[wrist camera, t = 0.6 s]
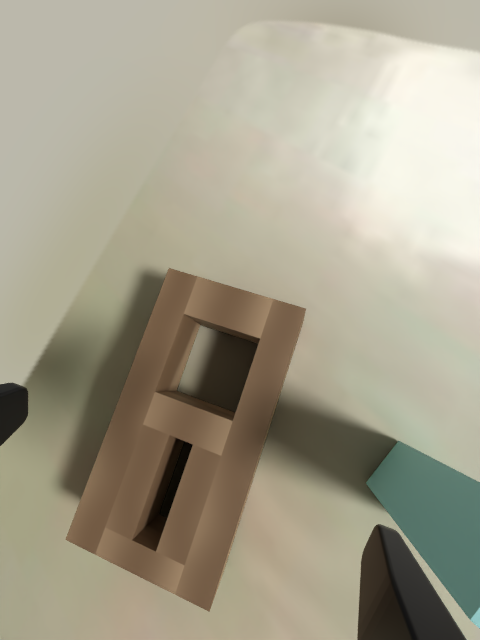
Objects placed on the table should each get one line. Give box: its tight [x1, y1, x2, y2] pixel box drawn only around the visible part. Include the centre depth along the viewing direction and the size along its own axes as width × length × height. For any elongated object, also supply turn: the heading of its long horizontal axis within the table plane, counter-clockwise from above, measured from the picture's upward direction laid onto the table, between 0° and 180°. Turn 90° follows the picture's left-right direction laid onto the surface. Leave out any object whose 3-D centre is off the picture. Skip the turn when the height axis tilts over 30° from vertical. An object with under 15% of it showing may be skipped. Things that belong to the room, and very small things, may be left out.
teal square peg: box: [366, 441, 480, 628], centre depth 15 cm, size 3×3×13 cm
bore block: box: [66, 268, 306, 611], centre depth 22 cm, size 9×17×4 cm, turn 161°
